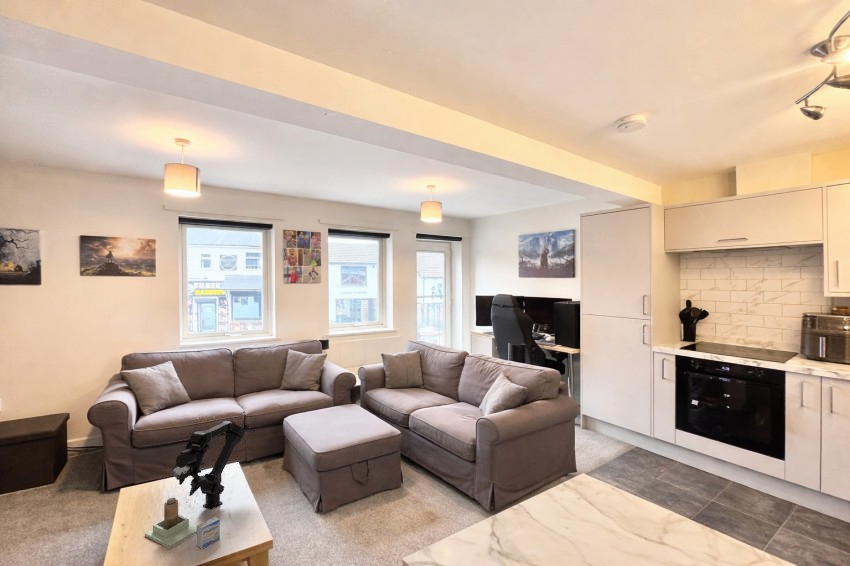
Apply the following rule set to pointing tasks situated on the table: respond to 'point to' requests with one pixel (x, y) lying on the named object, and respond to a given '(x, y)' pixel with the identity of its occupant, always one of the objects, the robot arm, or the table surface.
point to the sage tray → (172, 532)
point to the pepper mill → (170, 513)
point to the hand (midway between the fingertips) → (185, 490)
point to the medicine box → (208, 532)
